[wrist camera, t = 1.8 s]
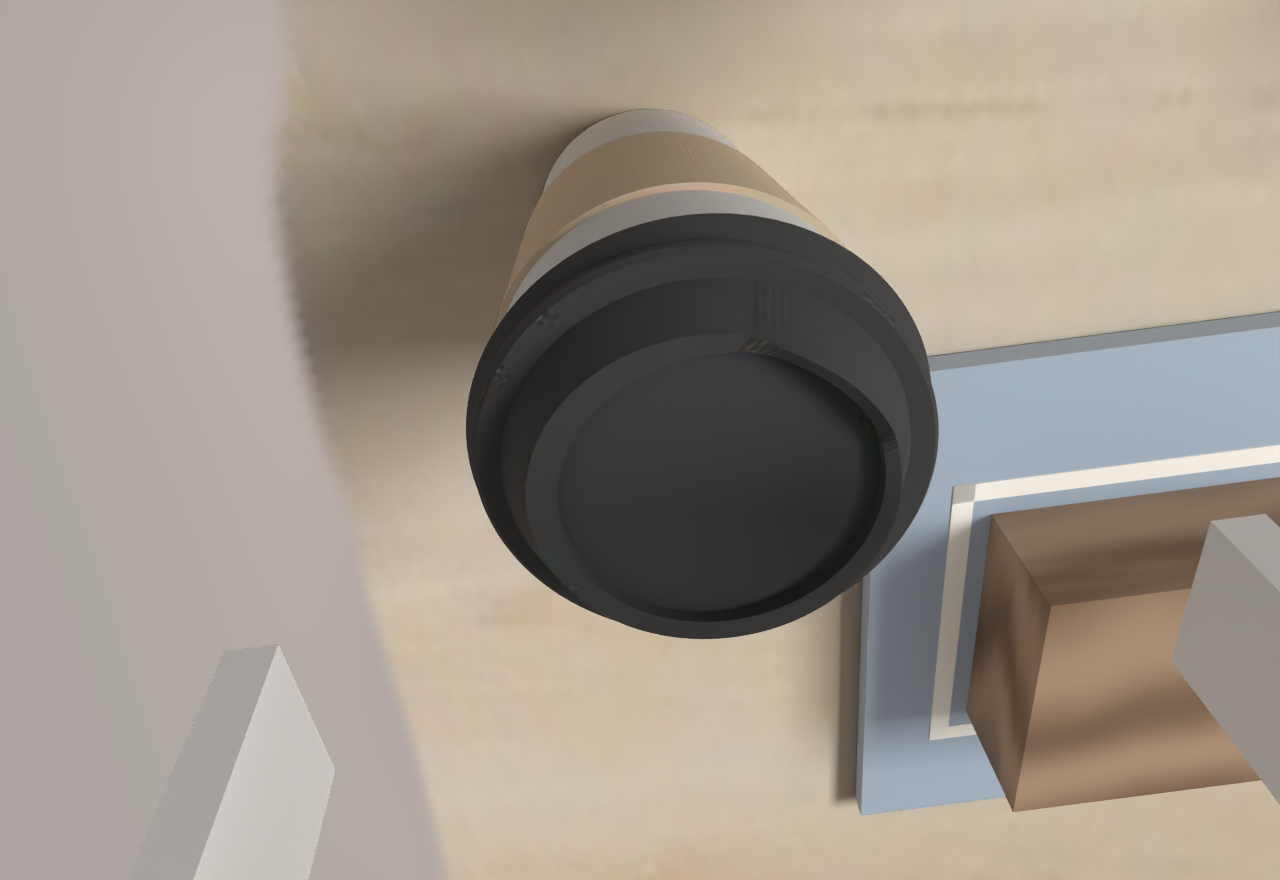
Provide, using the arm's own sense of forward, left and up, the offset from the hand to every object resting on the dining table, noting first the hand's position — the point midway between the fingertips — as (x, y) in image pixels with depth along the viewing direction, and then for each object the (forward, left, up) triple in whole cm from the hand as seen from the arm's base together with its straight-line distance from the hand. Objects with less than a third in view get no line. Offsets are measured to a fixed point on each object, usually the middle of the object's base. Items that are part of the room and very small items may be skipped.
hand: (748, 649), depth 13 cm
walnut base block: (+18, +17, -17) cm, 30 cm away
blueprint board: (+18, +17, -18) cm, 31 cm away
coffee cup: (0, 0, -18) cm, 18 cm away
